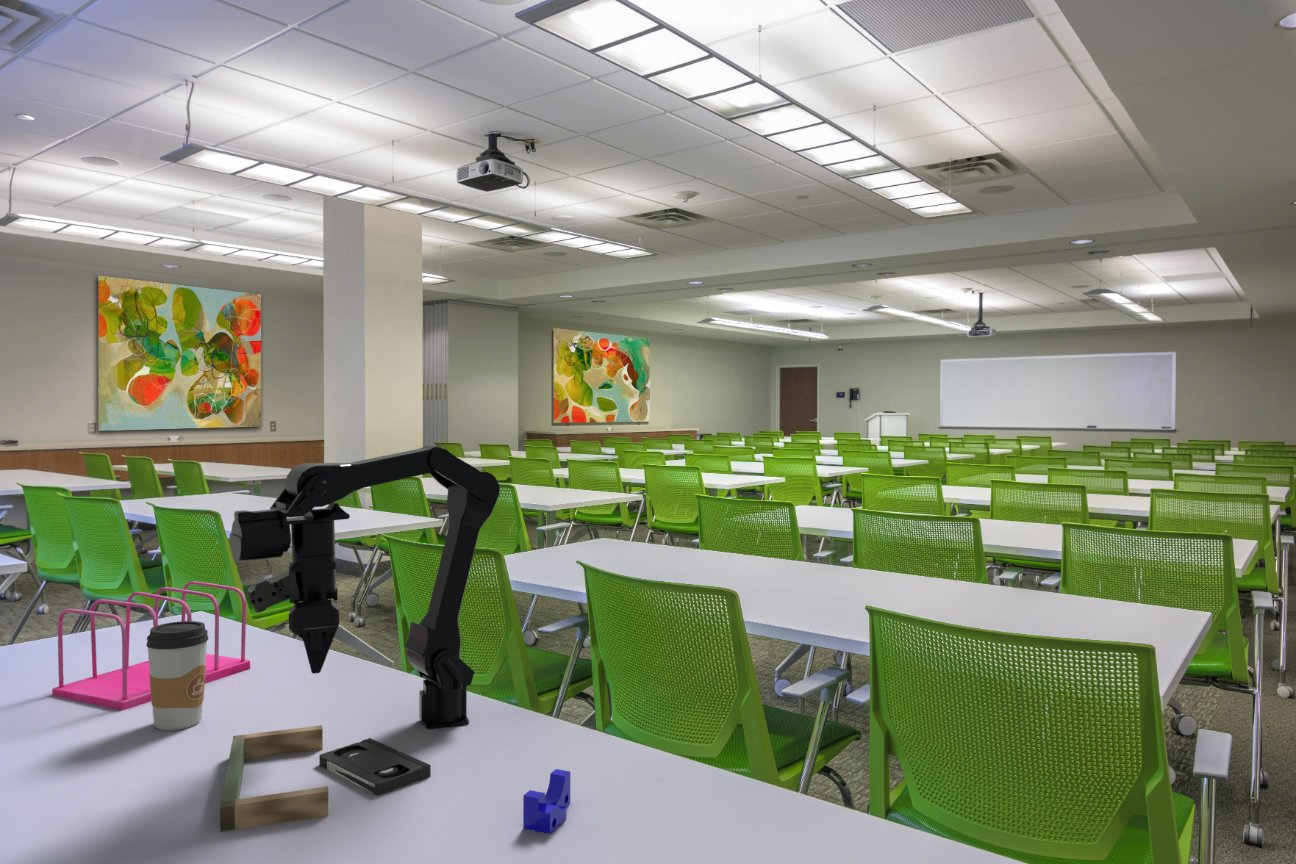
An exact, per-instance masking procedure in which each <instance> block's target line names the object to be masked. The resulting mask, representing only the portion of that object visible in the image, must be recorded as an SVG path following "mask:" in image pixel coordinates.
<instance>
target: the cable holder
mask: <svg viewBox="0 0 1296 864" xmlns="http://www.w3.org/2000/svg"><path fill="white" fill-rule="evenodd" d="M549 775H550V776H549V784H548V787H547V790H546V792H542V791H537V790H532V789H531V790H530V789H529V790H528V791H527V792H526V793H524V794H523V796H522V797H523V798H522V799H523V807H522V808H523V809H522V810H523V812H522V813H523V814H522V815H523V816H522V819H523V820H522V822H523V824H522V825H523V826H522V827H523V829H524V830H529V831H533V830H534V831H533V832H537V833H541V832H543V833H542V834H546V833H549V834H548V835H551V834H552V833H554V832H555V830H557V829H558V828H559V827H560V826H561V825H562V824H563V823H564V822H566V820H567V807H568V806H569V805H570V804H571V771H569V770H566V769H565V770H563V769H559V768H556V769H554V770H553V771H551V772H550V774H549ZM561 823H562V824H561ZM559 825H560V826H559ZM558 826H559V827H558ZM557 827H558V828H557ZM556 828H557V829H556ZM550 833H551V834H550Z"/></svg>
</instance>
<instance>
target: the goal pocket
mask: <svg viewBox="0 0 1296 864" xmlns="http://www.w3.org/2000/svg"><path fill="white" fill-rule="evenodd" d="M323 729H324V728H323V725H322V724H321V725H313V726H305V727H304V726H303V727H296V728H288V729H287V728H286V729H281V730H272V731H263V732H262V731H261V732H257V733H256V732H255V733H247V734H246V733H245V734H239V735H233V736H232V740H231V747H230V752H229V756H228V763H227V768H226V774H225V779H224V785H223V791H222V797H221V802H220V806H219V810H220V812H219V814H220V815H219V817H220V818H219V819H220V820H219V822H220V825H219V826H220V830H219V831H220V833H223V832H230V831H236V830H243V829H248V828H256V827H262V826H263V827H264V826H269V825H276V824H283V823H291V822H296V821H302V820H309V819H315V818H322V817H328V816H329V786H327V785H326V786H321V787H320V786H319V787H313V788H306V789H299V790H298V789H297V790H292V791H286V792H279V793H271V794H265V795H258V796H252V797H250V796H249V797H245V798H240V797H241V796H240V795H241V790H242V789H241V788H242V782H243V774H244V773H243V772H244V768H245V761H246V759H255V758H264V757H271V756H280V755H287V754H289V755H290V754H296V753H305V752H313V751H319V750H320V751H321V750H323V747H324V746H323V743H324V742H323V740H324V739H323V733H324V731H323Z"/></svg>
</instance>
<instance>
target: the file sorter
mask: <svg viewBox="0 0 1296 864" xmlns="http://www.w3.org/2000/svg"><path fill="white" fill-rule="evenodd" d="M191 585H197V586H203V587H210V588H216V589H222V590H229V591H234V592H235V593H237V594H238V595H239V598H240V600H241V635H240V636H241V637H240V638H241V640H240V644H241V645H240V648H241V649H240V658H237V657H233V656H231V657H230V656H224V655H219V653H220V652H219V651H220V650H219V649H220V648H219V647H220V643H219V642H220V608H219V607H220V606H219V602H218V600H217V599H216V598H215V596H214V595H212V594H211V593H206V592H201V591H196V590H190V589H188V588H189V587H190V586H191ZM163 591H169V592H175V593H181V599H178V598H175V597H169V596H164V595H161V593H162V592H163ZM187 594H188V595H194V596H199V597H200V596H201V597H204V598H208V599H209V600H211V601H212V604H213V607H214V654H212V653H206V662H205V666H206V671H205V684H208V683H211V682H214V681H218V680H221V679H223V678H227V677H229V676H232V675H236V674H239V673H241V672H244V671H248V670H250V669H251V660H249V659H246V634H247V633H246V632H247V631H246V630H247V629H246V627H247V600H246V596H245V594H244V592H243V591H242V590H241V589H240V588H238V587H235V586H229V585H223V584H217V583H216V584H215V583H209V582H203V581H194V580H192V581H188V582H187V583H186V584H185V585H184V586H183V589H181V588H177V587H176V588H175V587H169V586H165V587H161V588H159V589H158V590H157V591H156V593H154V594H153V593H148V592H142V591H134V592H132V593H131V594H130V595H128V597H127V600H126V601H120V600H112V599H105V598H103V599H101V598H100V599H97V600H95V601H94V602H93V603H92V605H91V608H90V610H85V609H78V608H77V609H76V608H67V609H63V610H62V611H61V612H60V614H59V616H58V619H57V657H58V658H57V661H58V662H57V663H58V664H57V667H58V686H54V687H52V691H51V693H52V696H55V697H60V698H64V699H69V700H74V701H77V702H81V703H82V702H83V703H87V704H92V705H97V706H101V707H106V708H109V709H114V710H118V711H126V710H129V709H131V708H134V707H137V706H140V705H144V704H146V703H150V702H152V701H151V689H150V677H149V673H150V669H149V660H147V661H143V662H139V663H135V664H132V665H129V663H130V658H129V657H130V633H131V631H130V629H131V608H133V607H134V608H142V609H145V610H147V611H148V612H149V613H150V615H151V618H152V625H153V626H152V627H155V626H157V625H159V600H162V601H166V602H172V603H176V604H179V605H181V618H180V619H181V620H180V622H181V621H193V620H192V619H193V618H192V611H191V609H190V606H189V605H188V604H187V603H186V601H187ZM135 596H140V597H141V596H142V597H148V598H152V599H154V601H153V605H154V606H153V607H151V606H150V605H147V604H144V603H143V604H142V603H137V602H132V600H133V598H134V597H135ZM99 604H108V605H117V606H125V607H126V608H125V609H126V611H125V622H124V620H123V618H121V617H120V616H119V615H116V614H113V613H108V612H107V613H106V612H100V611H96V608H97V606H98V605H99ZM67 613H73V614H82V615H89V616H90V640H91V642H90V643H91V644H90V645H91V664H92V665H91V666H92V676H89V677H87V678H83V679H80V680H76V681H72V682H70V683H69V682H68V683H65V684H64V679H65V678H64V648H63V647H64V645H63V643H64V641H63V639H64V638H63V621H64V617H65V616H66V614H67ZM96 617H103V618H108V619H114V620H115V621H117V622H118V624H119V626H120V629H121V661H122V663H121V666H122V667H121V668H118V669H114V670H111V671H107V672H104V673H100V674H98V667H97V666H98V665H97V660H98V659H97V639H96V638H97V637H96ZM186 617H187V618H186Z"/></svg>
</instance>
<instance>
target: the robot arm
mask: <svg viewBox="0 0 1296 864" xmlns="http://www.w3.org/2000/svg"><path fill="white" fill-rule="evenodd" d="M427 474H429V475H430V476H431V478H433V479H434V480H435V481H436V482H437V483H438V484H439V485H441V486H442V487H443V488H444V489H446V490H447V499H446V508H447V516H448V519H449V520H448V521H449V523H448V524H449V526H448V530H447V533H446V537H445V540H444V546H443V549H442V553H441V556H440V557H441V558H440V561H439V566H438V570H437V574H436V578H435V581H434V585H433V590H432V594H431V598H430V602H429V605H428V610H427V612H426V614H425V615H424V617H423V618H422V619H421V621H420V622H419V623H418V622H415V621H411V622H410V625H409V631H408V632H409V633H408V638H407V641H406V642H405V643H404V645H403V647H404V648H405V649H407V650H406V659H407V660H408V663H409V664H410V666H411V667H412V668H414V669H415V670H416V671H417V673H418V676H419V678H421V679H423V680H422V689H421V690H419V693H418V694H419V695H418V696H419V697H418V701H419V702H418V704H419V705H418V708H419V709H418V716H419V718H420V722H422V723H423V724H424V727H425V729H426V730H432V729H433V730H434V729H440V728H447V727H456V726H464V725H468V724H470V719H469V717H468V715H467V710H468V708H467V707H468V706H467V704H468V703H467V702H468V701H467V698H468V697H467V695H468V694H467V686H471V685H472V681H473V678H474V675H475V671H474V669H472V668H471V667H470V666H469V665H468V664H466V662H464V661H463V660H462V659H461V646H462V639H461V631H460V626H459V616H460V614H461V613H460V611H461V608H462V604H463V601H464V597H465V591H466V587H467V583H468V579H469V575H470V571H471V566H472V563H473V558H474V553H475V551H476V547H477V542H478V537H479V533H480V531H481V529H482V527H483V526H484V524H486V522H487V521H488V519H489V518H490V517H491V515H492V514H493V512H494V509H495V507H496V504H497V502H498V500H499V497H500V494H501V493H500V492H501V483H499V481H498V479H497V477H495V476H494V475H493V473H490V472H488V471H481V470H478V469H477V468H476V467H474V466H473V465H471V464H469V463H467V462H466V461H464V460H462V459H461V458H459V457H457V456H455V455H454V454H453V453H452V452H450V451H449V450H448V449H447V448H446V447H443V446H439V445H430V444H429V445H424V446H422V447H420V448H417V449H412V450H406V451H401V452H396V453H392V454H391V453H390V454H386V455H382V456H378V457H377V456H376V457H372V458H371V457H370V458H367V459H362V460H357V461H352V462H316V463H315V462H312V463H310V462H309V463H307V462H305V463H300V464H297V465H295V466H294V467H292V468H291V469H290V471H289V472H288V474H287V476H286V478H285V481H284V484H285V485H284V488H283V489H282V491H281V492H280V493H279V494H278V496H277V498H276V499H275V500H274V502H273V504H271V506H270V508H269V509H263V510H253V511H252V510H245V509H244V510H236V511H234V513H233V516H234V517H233V519H234V520H233V522H232V525H231V529H230V530H231V532H230V533H229V547H230V552H231V553H230V554H231V556H232V559H233V562H234V563H243V562H244V563H245V562H246V563H247V562H253V561H262V560H269V559H278V558H282V557H283V555H284V552H285V553H287V552H288V551H289V549H290V548H291V561H289V566H288V570H287V571H284V572H282V573H279V574H276V575H274V576H271V577H269V578H265V579H264V580H262V581H257V582H255V584H254V583H253V584H252V585H250V586H249V587H248V589H247V591H246V593H247V596H248V599H249V603H250V604H251V605H252V607H253V609H254V612H255V613H256V614H259V613H263V612H264V611H266V610H267V609H268V608H271V607H272V606H275V605H278V604H280V603H282V602H285V601H286V600H288V599H289V604H293V606H292V607H290V609H289V610H288V611H289V612H288V629H289V631H290V633H292V634H294V635H296V636H298V637H299V638H300V639H302V640H303V645H304V648H305V653H306V657H307V660H308V665H309V667H310V672H311V674H319V673H321V672H322V669H323V666H324V664H325V661H326V658H327V656H328V654H329V651H330V649H331V646H332V643H333V641H334V640H335V639H334V638H335V635H336V634H337V631H338V629H339V627H340V626H339V625H340V608H339V607H340V605H339V604H338V600H339V599H338V598H339V597H338V584H337V580H336V579H337V578H336V577H337V575H336V574H337V571H336V568H337V566H336V564H337V563H336V533H335V530H336V529H335V527H336V526H335V525H336V524H335V521H342V520H348V519H350V517H351V516H350V514H349V513H347V512H346V511H345V510H344V509H343V508H342V507H341V506H340V505H339V503H338V502H337V501H339V500H343V499H345V498H347V497H348V496H350V495H352V494H353V493H355V492H357V491H359V490H363V489H366V488H369V487H373V486H378V485H382V484H387V483H391V482H396V481H400V480H405V479H410V478H413V477H417V476H421V475H427ZM322 507H323V508H322ZM324 507H325V508H324Z"/></svg>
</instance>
